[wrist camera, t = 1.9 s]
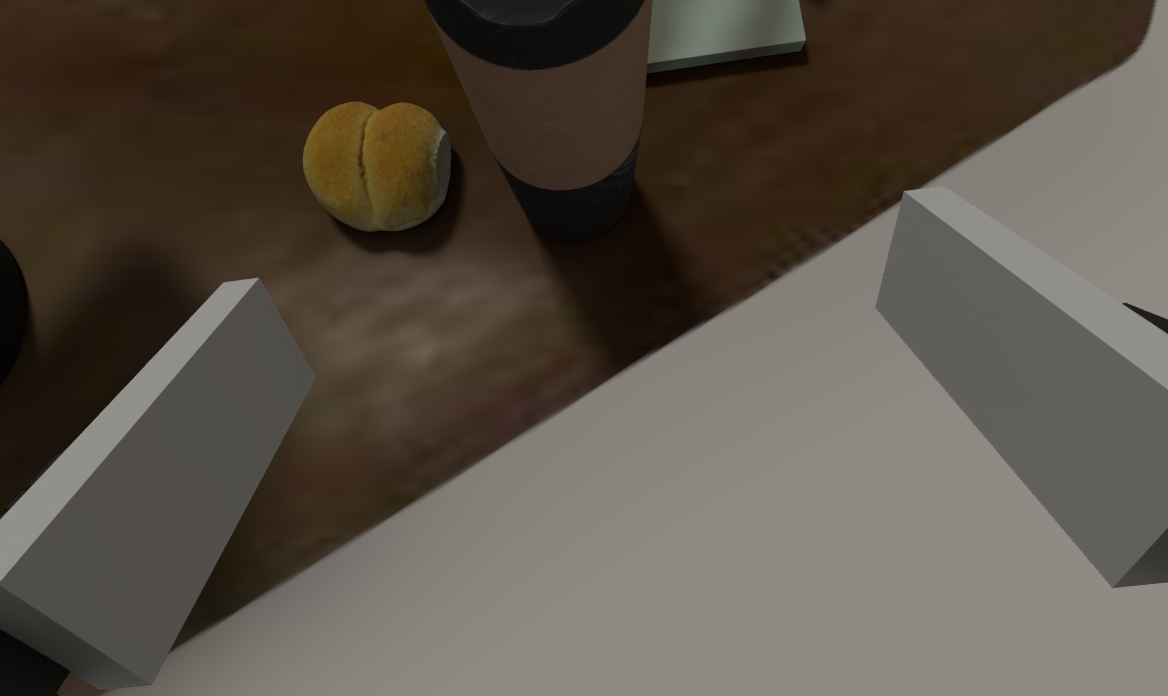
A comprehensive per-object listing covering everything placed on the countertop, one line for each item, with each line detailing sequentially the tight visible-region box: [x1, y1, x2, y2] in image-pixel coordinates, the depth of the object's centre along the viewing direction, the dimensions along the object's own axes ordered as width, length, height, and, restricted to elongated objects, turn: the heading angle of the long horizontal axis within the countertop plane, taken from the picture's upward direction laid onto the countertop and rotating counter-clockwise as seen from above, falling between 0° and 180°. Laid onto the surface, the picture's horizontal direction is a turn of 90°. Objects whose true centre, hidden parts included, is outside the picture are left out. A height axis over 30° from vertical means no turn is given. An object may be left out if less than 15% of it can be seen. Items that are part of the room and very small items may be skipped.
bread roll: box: [303, 102, 451, 232], centre depth 33 cm, size 8×9×4 cm
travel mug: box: [424, 0, 653, 241], centre depth 24 cm, size 8×8×20 cm
